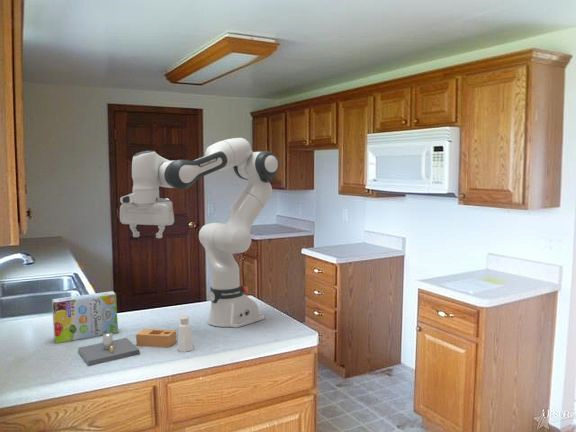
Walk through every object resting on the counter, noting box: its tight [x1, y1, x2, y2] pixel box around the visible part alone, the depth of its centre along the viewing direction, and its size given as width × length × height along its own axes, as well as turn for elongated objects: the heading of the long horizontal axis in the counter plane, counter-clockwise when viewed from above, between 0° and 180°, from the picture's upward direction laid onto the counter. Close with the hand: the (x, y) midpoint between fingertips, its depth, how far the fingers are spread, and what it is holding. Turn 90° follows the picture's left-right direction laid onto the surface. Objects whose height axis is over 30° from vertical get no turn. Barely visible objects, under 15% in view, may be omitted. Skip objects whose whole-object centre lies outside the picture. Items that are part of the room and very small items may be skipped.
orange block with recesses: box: [135, 328, 177, 348], centre depth 170 cm, size 12×6×4 cm, turn 80°
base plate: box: [77, 337, 140, 366], centre depth 162 cm, size 16×14×2 cm
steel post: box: [102, 332, 114, 350], centre depth 161 cm, size 3×3×6 cm
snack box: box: [51, 290, 119, 344], centre depth 178 cm, size 21×6×15 cm, turn 119°
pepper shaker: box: [176, 315, 194, 353], centre depth 164 cm, size 5×5×11 cm
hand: (147, 237), depth 171 cm, fingers open, 8 cm apart
